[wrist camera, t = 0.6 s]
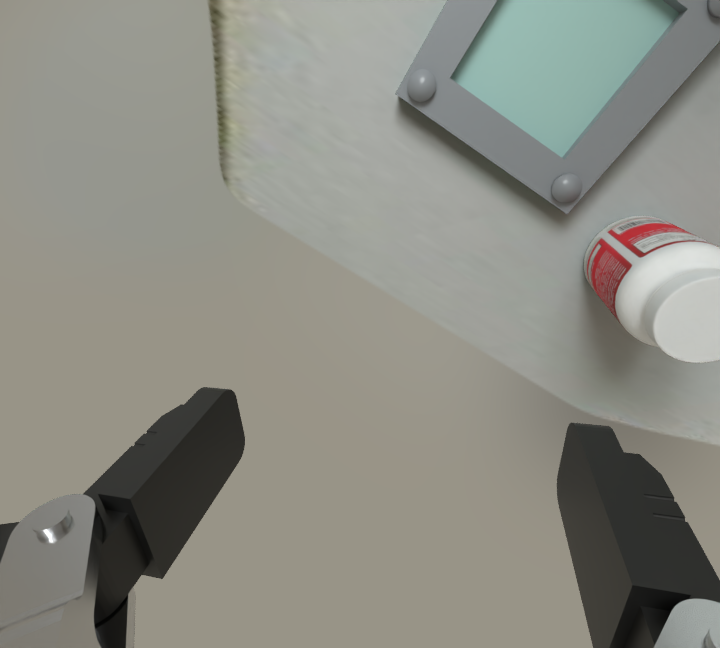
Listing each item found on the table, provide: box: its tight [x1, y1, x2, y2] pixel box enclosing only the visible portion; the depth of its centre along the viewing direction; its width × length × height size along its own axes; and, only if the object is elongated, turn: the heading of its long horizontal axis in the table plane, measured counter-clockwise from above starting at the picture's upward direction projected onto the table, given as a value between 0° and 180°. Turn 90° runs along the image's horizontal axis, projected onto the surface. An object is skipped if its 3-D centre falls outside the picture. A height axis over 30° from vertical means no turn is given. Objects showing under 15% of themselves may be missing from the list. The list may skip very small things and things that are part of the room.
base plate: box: [395, 0, 720, 214], centre depth 25 cm, size 14×14×2 cm
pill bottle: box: [584, 216, 720, 363], centre depth 25 cm, size 6×6×11 cm
